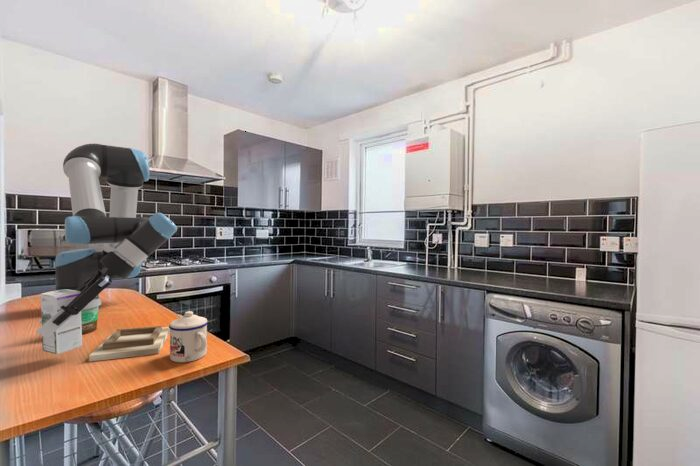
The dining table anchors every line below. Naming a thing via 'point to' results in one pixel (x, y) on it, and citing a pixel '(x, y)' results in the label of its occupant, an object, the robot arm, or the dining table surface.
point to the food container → (90, 316)
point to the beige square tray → (131, 343)
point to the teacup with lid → (188, 338)
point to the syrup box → (70, 330)
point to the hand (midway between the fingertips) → (43, 329)
